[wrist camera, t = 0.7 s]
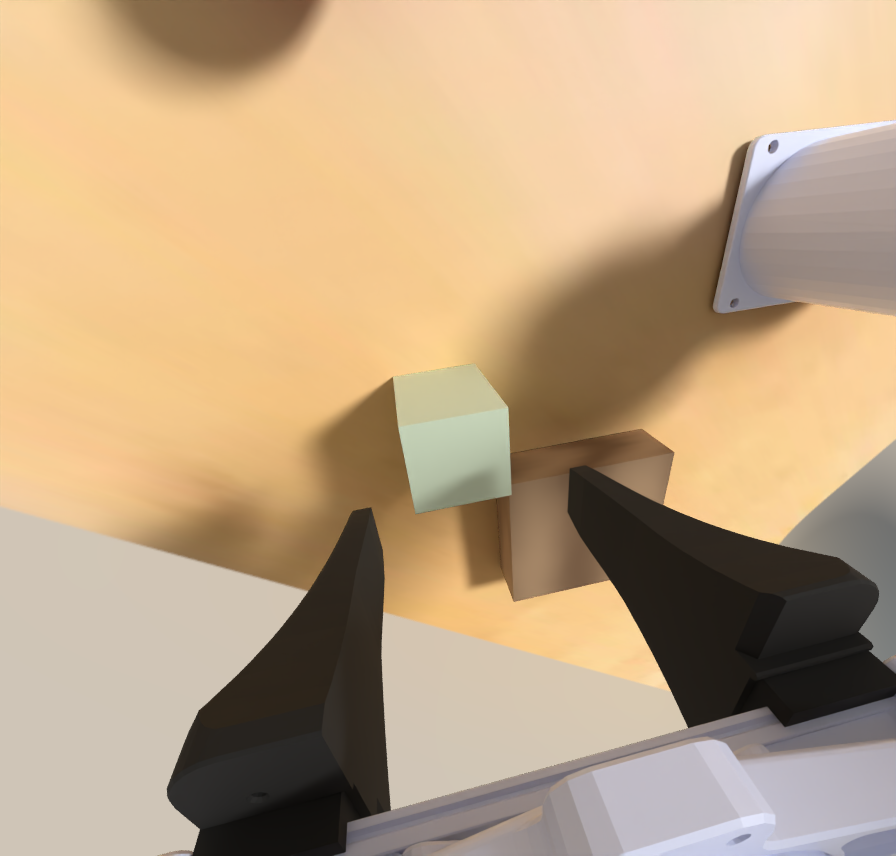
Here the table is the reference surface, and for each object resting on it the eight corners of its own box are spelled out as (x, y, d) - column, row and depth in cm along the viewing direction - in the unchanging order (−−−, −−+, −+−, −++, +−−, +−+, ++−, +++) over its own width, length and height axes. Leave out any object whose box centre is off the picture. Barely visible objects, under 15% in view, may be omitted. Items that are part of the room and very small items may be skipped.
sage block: (474, 363, 20) (508, 407, 15) (480, 434, 22) (511, 495, 17) (392, 376, 20) (398, 426, 14) (406, 447, 22) (415, 514, 17)
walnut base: (642, 428, 24) (674, 452, 21) (624, 540, 29) (649, 570, 26) (493, 456, 23) (508, 484, 20) (500, 567, 28) (513, 601, 25)
